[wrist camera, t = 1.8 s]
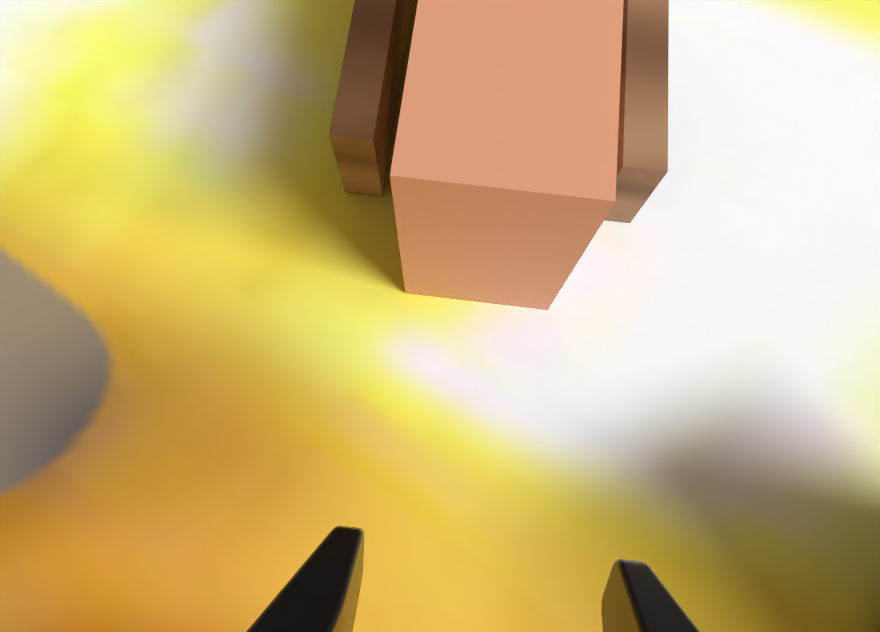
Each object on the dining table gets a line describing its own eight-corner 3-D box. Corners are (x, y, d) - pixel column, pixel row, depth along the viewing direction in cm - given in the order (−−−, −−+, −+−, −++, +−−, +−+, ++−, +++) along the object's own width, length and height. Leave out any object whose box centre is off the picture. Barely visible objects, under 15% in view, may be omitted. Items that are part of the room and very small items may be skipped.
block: (546, 310, 23) (615, 201, 14) (405, 294, 23) (389, 175, 15) (570, -19, 28) (633, -251, 19) (452, -32, 28) (461, -268, 19)
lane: (629, 222, 24) (667, 171, 20) (345, 191, 24) (329, 135, 20) (636, -50, 28) (669, -136, 24) (392, -74, 28) (386, -164, 24)
